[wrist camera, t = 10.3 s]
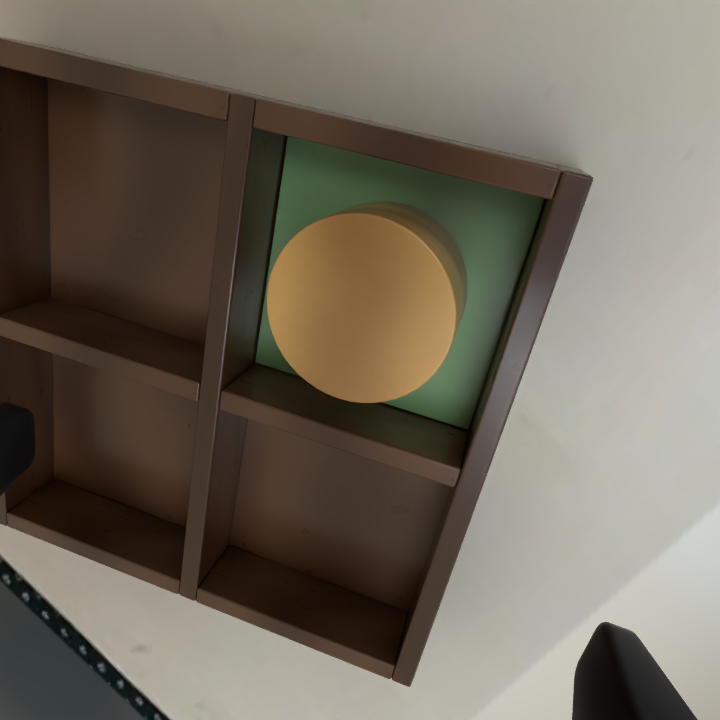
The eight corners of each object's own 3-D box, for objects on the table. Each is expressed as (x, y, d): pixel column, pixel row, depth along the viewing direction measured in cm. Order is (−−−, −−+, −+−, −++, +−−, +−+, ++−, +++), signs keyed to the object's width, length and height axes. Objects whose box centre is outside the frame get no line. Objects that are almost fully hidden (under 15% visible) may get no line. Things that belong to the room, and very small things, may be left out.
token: (489, 225, 16) (482, 242, 13) (442, 384, 18) (427, 427, 15) (321, 182, 17) (280, 190, 14) (294, 338, 19) (254, 372, 16)
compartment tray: (582, 170, 15) (594, 176, 13) (424, 621, 22) (410, 688, 19) (40, 44, 18) (-45, 27, 15) (49, 479, 25) (-9, 520, 22)
